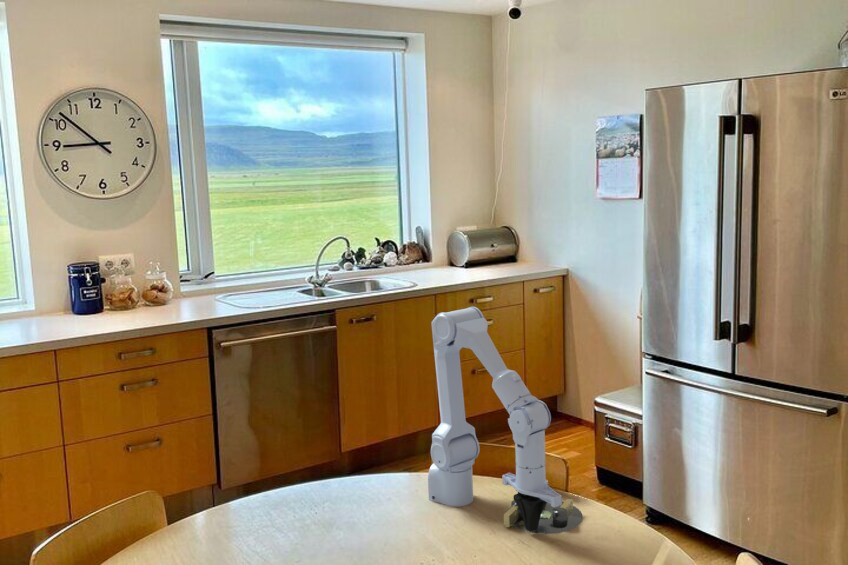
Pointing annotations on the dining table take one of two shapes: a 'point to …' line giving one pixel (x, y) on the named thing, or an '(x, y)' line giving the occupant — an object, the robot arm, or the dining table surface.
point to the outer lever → (562, 513)
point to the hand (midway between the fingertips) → (531, 528)
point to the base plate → (551, 521)
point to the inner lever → (512, 514)
